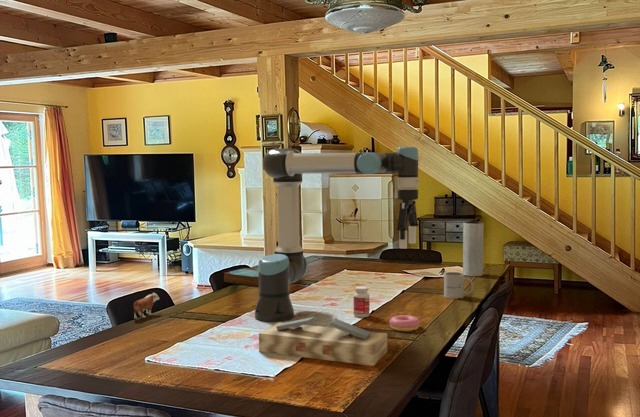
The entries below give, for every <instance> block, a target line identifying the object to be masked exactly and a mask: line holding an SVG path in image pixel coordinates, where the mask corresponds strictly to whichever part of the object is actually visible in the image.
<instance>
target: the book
mask: <svg viewBox="0 0 640 417" xmlns="http://www.w3.org/2000/svg"><path fill="white" fill-rule="evenodd" d="M223 274H224V275H223V280H224V283H229V284H235V285H243V286H251V287H258V288H259V273H258V268H252V267H244V268H239V269H235V270H229V271H227V272H224V273H223Z"/></svg>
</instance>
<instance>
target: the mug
mask: <svg viewBox="0 0 640 417" xmlns="http://www.w3.org/2000/svg"><path fill="white" fill-rule="evenodd" d="M465 281H469V283H470V285H471V286H470V291H469V292H466V291H465ZM473 290H474V282H473V280H472V279H471V278H469V277H465V275H464V273H463V272H458V271H449V272H448V271H447V272H444V273H443V298H446V299H453V300H454V299H456V300H458V298H461V299H464V298H465V295H466V296H468V295H470V294H472V293H473ZM463 297H464V298H463Z"/></svg>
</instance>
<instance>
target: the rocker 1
mask: <svg viewBox="0 0 640 417" xmlns="http://www.w3.org/2000/svg"><path fill="white" fill-rule="evenodd" d="M315 321H316V318H315V316H312V317H305V318H301V319H297V320H292V321H287V322H281V323H282V324H280V325H278V326H277V327H276V328H277V330H281V329H286V328H291V327H292V329H293V330H294V329H296V328H298V327H299V326H302V325H311V324H312V323H315Z"/></svg>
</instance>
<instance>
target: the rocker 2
mask: <svg viewBox="0 0 640 417" xmlns="http://www.w3.org/2000/svg"><path fill="white" fill-rule="evenodd" d="M329 326H330V327H331V328H337V329H339V330H342V331H344V332H346V333H345V335H349V334H352V335H355V336H357V337H360V338H362V339H365V340H366V339H367V338H368V337H369V336H370V333H371V332H372V331H368V330H366V329H363V328H361V327H359V326H355V325H354V324H351V323H348V322H345V321H343V320H340V319H338V318H335V319H334V320H331V321H330V323H329Z"/></svg>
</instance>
